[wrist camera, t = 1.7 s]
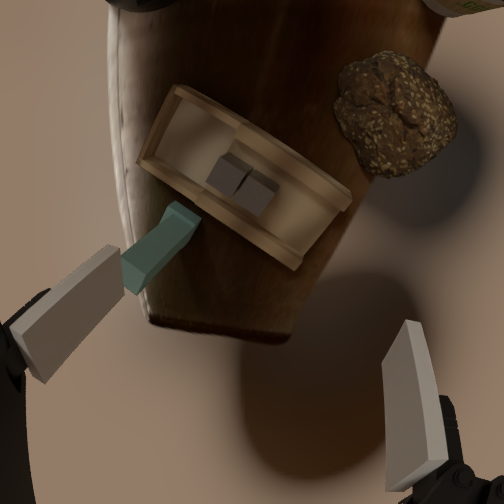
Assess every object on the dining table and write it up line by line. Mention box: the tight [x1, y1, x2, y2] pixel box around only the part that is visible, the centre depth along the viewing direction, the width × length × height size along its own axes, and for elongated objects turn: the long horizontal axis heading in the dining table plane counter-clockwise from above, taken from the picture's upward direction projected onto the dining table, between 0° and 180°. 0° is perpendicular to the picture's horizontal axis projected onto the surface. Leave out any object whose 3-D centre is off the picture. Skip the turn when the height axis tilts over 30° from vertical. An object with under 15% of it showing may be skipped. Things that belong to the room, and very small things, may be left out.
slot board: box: [136, 84, 353, 271], centre depth 32 cm, size 22×10×4 cm, turn 59°
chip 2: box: [233, 169, 280, 218], centre depth 31 cm, size 3×3×3 cm
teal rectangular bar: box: [121, 201, 202, 296], centre depth 33 cm, size 4×4×13 cm
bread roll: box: [334, 50, 458, 179], centre depth 25 cm, size 13×12×5 cm
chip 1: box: [205, 152, 253, 198], centre depth 31 cm, size 3×3×3 cm
